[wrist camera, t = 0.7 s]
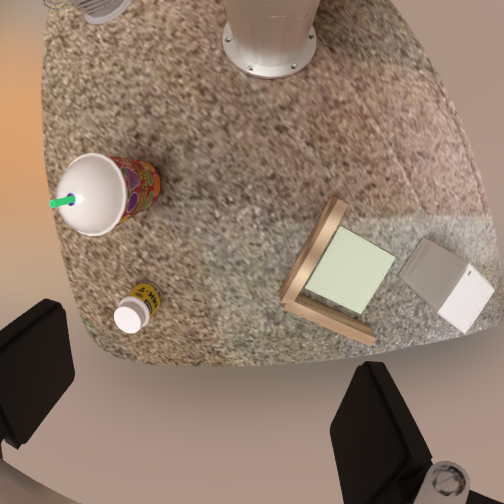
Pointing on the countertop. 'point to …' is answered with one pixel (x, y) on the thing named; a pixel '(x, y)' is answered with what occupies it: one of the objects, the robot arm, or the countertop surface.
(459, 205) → the countertop surface
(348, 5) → the countertop surface
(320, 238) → the wooden corner guide
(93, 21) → the french press
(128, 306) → the supplement bottle
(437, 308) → the supplement box
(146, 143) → the countertop surface
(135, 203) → the smoothie
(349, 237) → the pad
